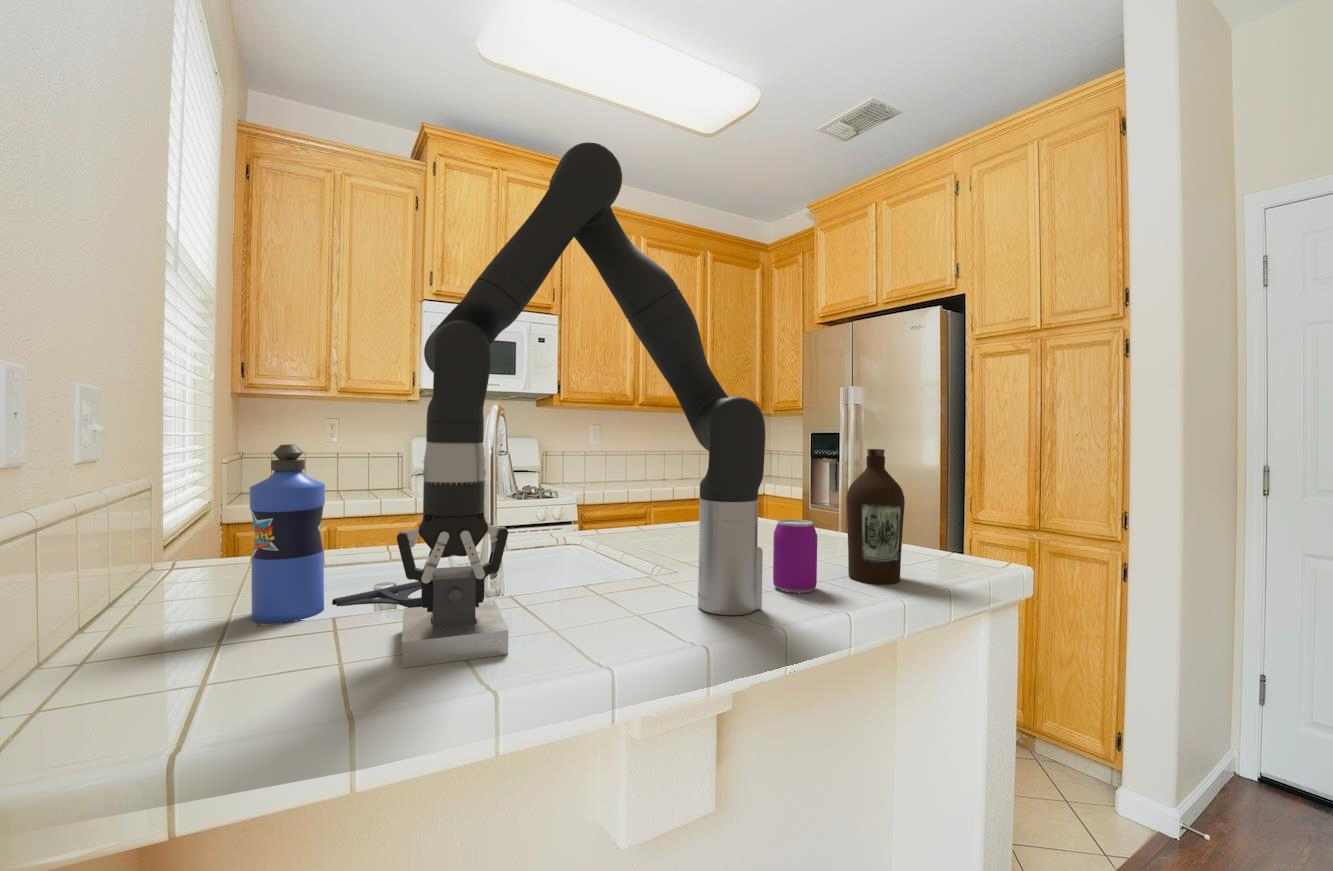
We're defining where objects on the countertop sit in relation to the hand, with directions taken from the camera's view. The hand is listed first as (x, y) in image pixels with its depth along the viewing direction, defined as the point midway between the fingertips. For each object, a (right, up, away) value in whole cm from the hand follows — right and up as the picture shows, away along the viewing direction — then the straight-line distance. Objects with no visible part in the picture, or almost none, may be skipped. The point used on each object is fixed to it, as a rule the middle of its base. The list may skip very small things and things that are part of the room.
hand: (452, 607), depth 77 cm
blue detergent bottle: (-28, -4, +11) cm, 30 cm away
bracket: (-14, -5, +17) cm, 23 cm away
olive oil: (+68, -5, +37) cm, 78 cm away
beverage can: (+51, -5, +29) cm, 59 cm away
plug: (0, -3, 0) cm, 3 cm away
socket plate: (0, -4, 0) cm, 4 cm away
